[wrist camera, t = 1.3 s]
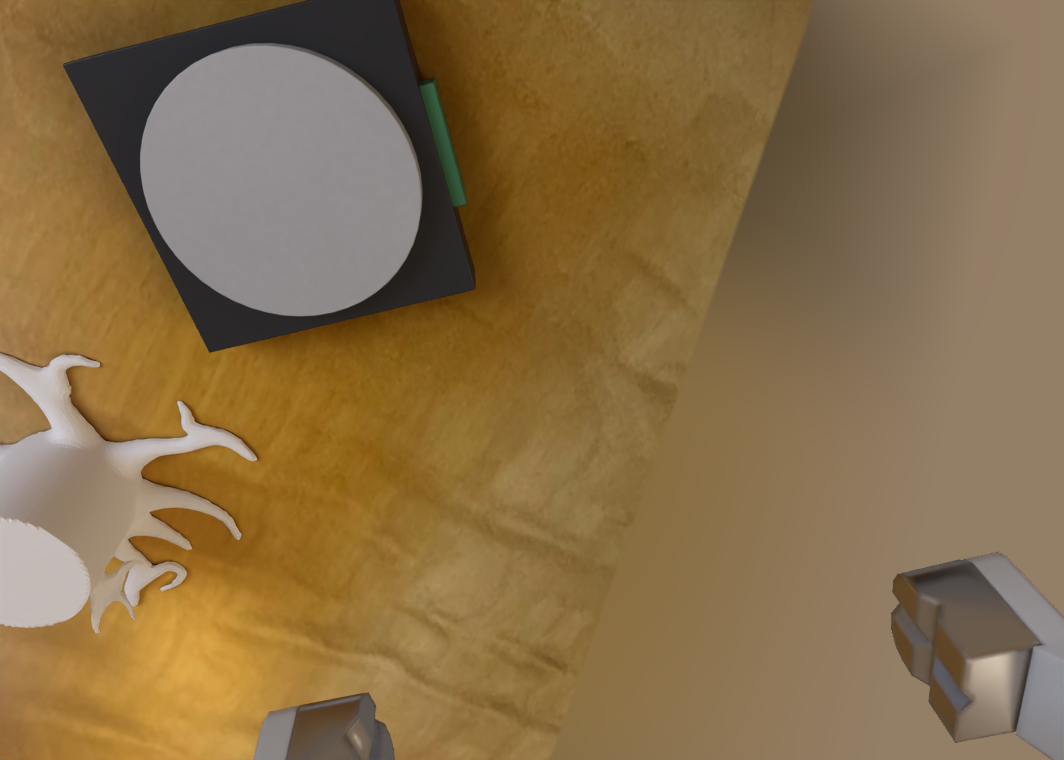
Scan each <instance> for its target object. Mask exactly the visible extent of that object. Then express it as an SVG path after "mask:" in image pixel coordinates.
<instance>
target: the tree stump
mask: <svg viewBox="0 0 1064 760" xmlns="http://www.w3.org/2000/svg"><path fill="white" fill-rule="evenodd" d="M81 365H82V366H88V367H93V368H96V367H100V363H99V362H98V361H92V360H89V359H87V358H85V357H82V356H80V355H76V356H75V355H65V354H63V355H61V356H59V357H56V358H55V359H53V360H52V361H51V362H50V365H49V366H47V367H43V368H41V367H37V366H33V365H30V364H27V363H25V362H23V361H20V360H18V359H16V358H14V357H12V356H7V355H5V354H3V353H0V371H2V372H3V373H5V374H6V375H8V376H9V377H10V378H11V379H12V380H13V381H15V382H16V383H17V384H18V385H19V386H21V387H22V388H23V389H24V390H25V391H26V392H27V393H28V394H29V395H30V396H31V397H32V399H33V400H34V401H35V402H36V403H37V404H38V405H39V406H40V408H41V409H42V411H43V412H44V414H45V415H46V417H47V418H48V420H49V422H50V424H51V429H50V430H47V431H45V432H38V433H37V434H33V435H30V436H28V437H26V438H24V439H22V440H21V441H20V442H18V443H16V444H12V445H1V444H0V624H4V625H5V626H10V625H11V626H12V627H16V626H17V627H19V628H20V627H25V628H28V627H32V628H34V627H36V626H38V627H43V626H45V625H48V626H50V625H53V624H55V623H59V622H63V621H65V620H68V619H69V618H71V617H73V616H74V615H76V614H77V613H78V612H79V611H80V610H81V609H82V608H83V606H84V605H85V603H86V602H87V600H88V598H89V597H90V605H91V607H90V610H91V614H92V616H91V621H92V626H93V629H94V631H95V633H96V634H97V633H100V631H99V630H98V626H99V624H100V618H101V616H102V613H103V612H104V610H105V609H106V607H107V606H108V605H109V604H110V603H111V602H114V601H120V602H122V603H123V604H124V605H125V606H126V608H127V609H128V610H129V612H130V614H131V616H132V618H133V620H134V621H135V616H134V611H133V608H132V606H137V604H138V601H139V599H140V597H139V593H140V590H141V589H142V588H143V587H145V586H146V585H147V584H148V583H150V582H152V581H153V580H154V579H155V578H157V577H159V576H160V575H162V574H163V573H165V572H167V571H173V572H176V573H177V577H176V579H175V580H174V581H173V582H172V584H170V585H166V586H163V587H161V588H160V590H162V591H164V590H168V589H171V588H173V587H176V586H177V585H179V584H180V583H182V581H183V580H184V579H185V577H186V575H187V571H186V570H185V568H184V567H183V566H182V565H180V564H178V563H176V562H169V561H165V562H164V563H161V564H159V565H155V566H153V565H152V564H151V563H150V562H149V561H148V560H147V559H146V558H145V557H144V556H143V555H142V554H141V553H140V552H139V551H138V550H137V549H135V548H134V546H133V545H132V544H131V543H130V542H129V540H128V539H129V538H130V537H133V536H153V537H158V538H161V539H164V540H167V541H169V542H171V543H173V544H176V545H178V546H180V547H181V548H183V549H186V550H191V549H192V547H191V545H190V542H189V541H188V540H187V539H185V538H184V537H183V536H181V534H180V533H178V532H176V531H175V530H174V529H172V528H171V527H169V526H168V525H167V524H165V523H164V522H162V521H160V520H158V519H157V518H155V517H153V516H152V515H151V514H150V512H151V511H154V510H158V509H164V508H186V509H192V510H196V511H200V512H203V513H206V514H209V515H212V516H214V517H216V518H217V519H219V520H221V521H223V522H224V523H225V525H226V526H227V527H228V528H229V529H230V531H231V533H232V535H233V536H234V537H235V538H236V539H237V540H239V539H240V537H241V533H240V532H239V530H238V528H237V527H236V524H235V522H234V520H233V518H232V517H230V516H229V515H228V513H227V512H226V511H224V510H222V509H221V508H220V507H218V506H216V505H213V504H212V503H211V502H210V501H208V500H207V499H203V498H201V497H199V496H196V495H193V494H191V493H190V492H188V491H182V490H179V489H176V488H171V487H166V486H162V485H159V484H155V483H152V482H150V481H148V480H146V479H143V478H142V475H141V471H142V469H143V467H144V466H145V465H146V464H148V463H149V462H150V461H152V460H153V459H155V458H157V457H159V456H163V455H169V454H179V453H185V452H190V451H194V450H197V449H200V448H204V447H207V446H213V445H221V446H226V447H228V448H231V449H232V450H234V451H236V452H237V453H239V454H240V455H241V456H243V457H244V458H246V459H248V460H250V461H256V460H257V458H256V456H255V454H254V453H253V452H252V451H251V450H250V449H249V448H248V447H247V446H246V444H245V443H244V442H243V441H242V439H239V438H238V437H236V436H235V435H233V434H232V433H230V432H228V431H226V430H223V429H217V428H215V427H209V426H203V425H201V424H199V423H197V422H195V420H194V417H193V416H192V413H191V411H190V410H189V409H188V407H187V406H186V405H185V404H184V403H183V402H182V401H178V406H179V410H180V413H181V416H182V420H181V424H182V428H183V429H184V430H185V431H186V432H187V433H188V435H187V436H186V437H182V438H171V439H165V438H153V439H151V438H149V439H143V440H141V439H136V440H133V441H127V442H117V443H115V442H109V441H105V440H104V439H103V438H101V436H100V435H99V434H98V433H97V432H96V431H95V429H94V428H93V426H91V425H90V424H89V423H88V422H87V421H86V420H85V418H84V417H83V416H82V415H81V414H80V413H79V411H78V410H77V408H75V407H74V406H73V404H72V403H71V398H70V397H69V395H70V394H71V388H72V387H71V386H70V385H69V381H68V378H67V375H66V369H68V368H70V367H72V366H81ZM113 556H114V557H116V558H118V559H119V560H121V561H123V562H125V563H124V564H123V565H121V566H120V567H119V568H118V569H117V570H116V571H115V572H113V573H111V574H107V573H105V569H106V567H107V565H108V564H109V562H110V560H111V559H112V557H113ZM128 571H129V574H128V578H127V580H126V583H125V594H126V597H127V598H126V597H125V595H124V594H123V592H122V591H121V590H122V587H123V582H124V580H125V576H126V573H127V572H128Z"/></svg>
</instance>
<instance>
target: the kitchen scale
mask: <svg viewBox="0 0 1064 760" xmlns="http://www.w3.org/2000/svg"><path fill="white" fill-rule="evenodd" d="M63 66H64V68H65V70H66V72H67V74H68V76H69V78H70V80H71V82H72V84H73V86H74V88H75V90H76V92H77V94H78V96H79V98H80V100H81V102H82V104H83V105H84V107H85V109H86V111H87V113H88V115H89V117H90V119H91V121H92V123H93V125H94V127H95V129H96V131H97V133H98V135H99V137H100V139H101V141H102V143H103V145H104V147H105V149H106V151H107V153H108V155H109V156H110V158H111V160H112V162H113V164H114V166H115V168H116V170H117V172H118V174H119V176H120V178H121V180H122V182H123V184H124V186H125V188H126V190H127V192H128V194H129V196H130V198H131V200H132V202H133V204H134V206H135V207H136V209H137V211H138V213H139V215H140V217H141V219H142V221H143V223H144V225H145V227H146V229H147V231H148V233H149V235H150V237H151V239H152V241H153V243H154V245H155V247H156V249H157V251H158V253H159V255H160V257H161V258H162V260H163V262H164V264H165V266H166V268H167V270H168V272H169V274H170V276H171V278H172V280H173V282H174V284H175V286H176V288H177V290H178V292H179V294H180V296H181V298H182V300H183V302H184V304H185V306H186V308H187V309H188V311H189V313H190V315H191V317H192V319H193V321H194V323H195V325H196V327H197V329H198V331H199V333H200V335H201V337H202V339H203V341H204V343H205V345H206V347H207V349H208V351H209V352H214V351H218V350H222V349H227V348H231V347H235V346H239V345H243V344H248V343H252V342H256V341H260V340H264V339H269V338H273V337H277V336H281V335H285V334H290V333H294V332H298V331H302V330H306V329H311V328H315V327H319V326H323V325H327V324H332V323H336V322H340V321H344V320H348V319H353V318H357V317H361V316H365V315H370V314H374V313H378V312H382V311H386V310H391V309H395V308H399V307H403V306H407V305H412V304H416V303H420V302H424V301H428V300H433V299H437V298H441V297H445V296H449V295H454V294H458V293H462V292H466V291H470V290H475V289H476V286H475V270H474V266H473V263H472V259H471V255H470V252H469V248H468V245H467V241H466V238H465V234H464V230H463V227H462V223H461V220H460V216H459V213H458V209H457V206H461V205H465V204H466V191H465V188H464V184H463V180H462V177H461V173H460V169H459V165H458V162H457V158H456V154H455V151H454V147H453V143H452V140H451V136H450V132H449V129H448V125H447V121H446V117H445V114H444V110H443V106H442V103H441V99H440V95H439V92H438V88H437V84H436V80H435V78H431V79H427V80H423V81H422V80H421V77H420V73H419V69H418V66H417V62H416V59H415V55H414V51H413V48H412V44H411V41H410V37H409V34H408V30H407V26H406V23H405V19H404V16H403V12H402V9H401V5H400V1H399V0H307V1H303V2H299V3H295V4H291V5H287V6H283V7H279V8H275V9H272V10H268V11H264V12H260V13H256V14H252V15H248V16H244V17H240V18H236V19H233V20H229V21H225V22H221V23H217V24H213V25H209V26H205V27H201V28H198V29H194V30H190V31H186V32H182V33H178V34H174V35H170V36H166V37H163V38H159V39H155V40H151V41H147V42H143V43H139V44H135V45H131V46H128V47H124V48H120V49H116V50H112V51H108V52H104V53H100V54H96V55H93V56H89V57H85V58H81V59H78V60H74V61H71V62H67V63H64V64H63Z"/></svg>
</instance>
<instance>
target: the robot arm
mask: <svg viewBox="0 0 1064 760" xmlns="http://www.w3.org/2000/svg"><path fill="white" fill-rule="evenodd" d="M893 594H894V595H895V596H896V598H897V600H898V601H899V602H900V603H899V604H898V606H897V607H896V608H895V609H894V610H893V612H892V613H891V630H892V634H893V637H894V641H895V645H896V648H897V650H898V652H899V654H900V656H901V658H902V661H903V662H904V664H905V665H906V667H907V669H908V670H909V672H910V673H911V675H912V676H913V677H915V678H917V679H919V680H920V681H922V682H924V683H926V684H927V685H929V686H930V693H929V703H930V705H931V706H932V708H933V709H934V711H935V712H936V714H937V715H938V717H939V718H940V720H941V722H942V723H943V725H944V726H945V728H946V729H947V731H948V732H949V734H950V735H951V737H952V738H953V740H954V741H955V743H957V742H962V741H967V740H973V739H978V738H984V737H989V736H994V735H1000V734H1005V733H1011V732H1016V734H1015V735H1016V736H1018V737H1019V738H1021V739H1022V740H1024V741H1025V742H1027V743H1028V744H1030V745H1031V746H1032V747H1034V748H1036V749H1037V750H1038V751H1040V752H1041V753H1043V754H1044V755H1046V756H1047V757H1049V758H1050V759H1052V760H1064V617H1063V615H1062V614H1061V613H1060V612H1059V611H1058V610H1057V609H1056V608H1055V607H1054V606H1053V605H1052V604H1051V603H1050V602H1049V601H1048V600H1047V599H1046V598H1045V597H1044V595H1043V594H1042V593H1041V592H1040V591H1039V590H1038V589H1037V588H1036V587H1035V586H1034V585H1033V584H1032V583H1031V582H1030V581H1029V579H1028V578H1027V577H1026V576H1025V575H1024V574H1023V573H1022V572H1021V571H1020V570H1019V569H1018V568H1017V567H1016V566H1015V565H1014V564H1013V563H1012V561H1011V560H1010V559H1009V558H1008V557H1007V556H1005V555H1003V554H1001V553H999V552H996V553H991V554H986V555H981V556H978V557H972V558H968V559H964V560H956V561H951V562H947V563H943V564H939V565H935V566H931V567H926V568H922V569H917V570H913V571H909V572H905V573H901V574H897V576H896V577H895V579H894V580H893ZM375 710H376V705H375V703H374V701H373V700H372V698H371V696H370V694H369V693H361V694H356V695H351V696H346V697H341V698H335V699H330V700H325V701H320V702H315V703H309V704H304V705H300V706H295V707H290V708H285V709H280V710H276V711H271V712H269V713H268V715H267V717H266V718H265V720H264V722H263V723H262V727H261V731H260V735H259V739H258V743H257V747H256V751H255V755H254V759H253V760H395V758H394V748H393V744H392V740H391V737H390V734H389V731H388V729H387V727H386V725H385V724H384V723H382V722H380V721H378V720H376V719H375Z"/></svg>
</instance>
